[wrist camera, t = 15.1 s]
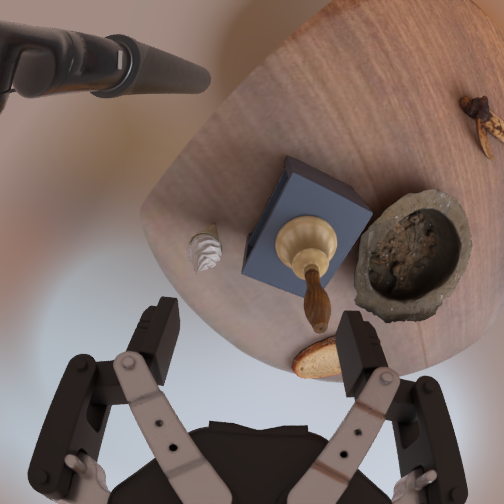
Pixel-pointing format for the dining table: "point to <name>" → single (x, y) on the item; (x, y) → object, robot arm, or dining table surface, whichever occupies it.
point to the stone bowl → (412, 257)
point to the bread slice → (318, 360)
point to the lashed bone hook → (484, 121)
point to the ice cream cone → (205, 249)
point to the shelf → (303, 204)
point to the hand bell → (309, 262)
